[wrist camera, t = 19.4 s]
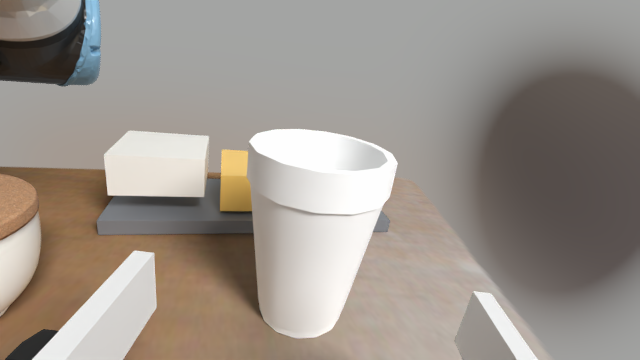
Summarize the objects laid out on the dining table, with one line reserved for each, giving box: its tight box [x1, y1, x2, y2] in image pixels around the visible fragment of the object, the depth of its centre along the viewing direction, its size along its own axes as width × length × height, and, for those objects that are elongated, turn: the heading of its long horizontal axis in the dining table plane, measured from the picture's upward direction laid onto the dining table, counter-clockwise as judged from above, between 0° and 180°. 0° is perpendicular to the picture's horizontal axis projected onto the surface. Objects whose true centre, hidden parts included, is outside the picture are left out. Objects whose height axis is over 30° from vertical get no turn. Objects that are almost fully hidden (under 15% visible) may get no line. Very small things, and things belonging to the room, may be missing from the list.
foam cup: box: [247, 129, 398, 338], centre depth 24 cm, size 10×9×13 cm
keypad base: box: [97, 179, 390, 235], centre depth 40 cm, size 30×11×2 cm, turn 105°
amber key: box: [220, 150, 252, 211], centre depth 38 cm, size 8×8×4 cm
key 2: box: [104, 131, 209, 197], centre depth 35 cm, size 8×8×4 cm
